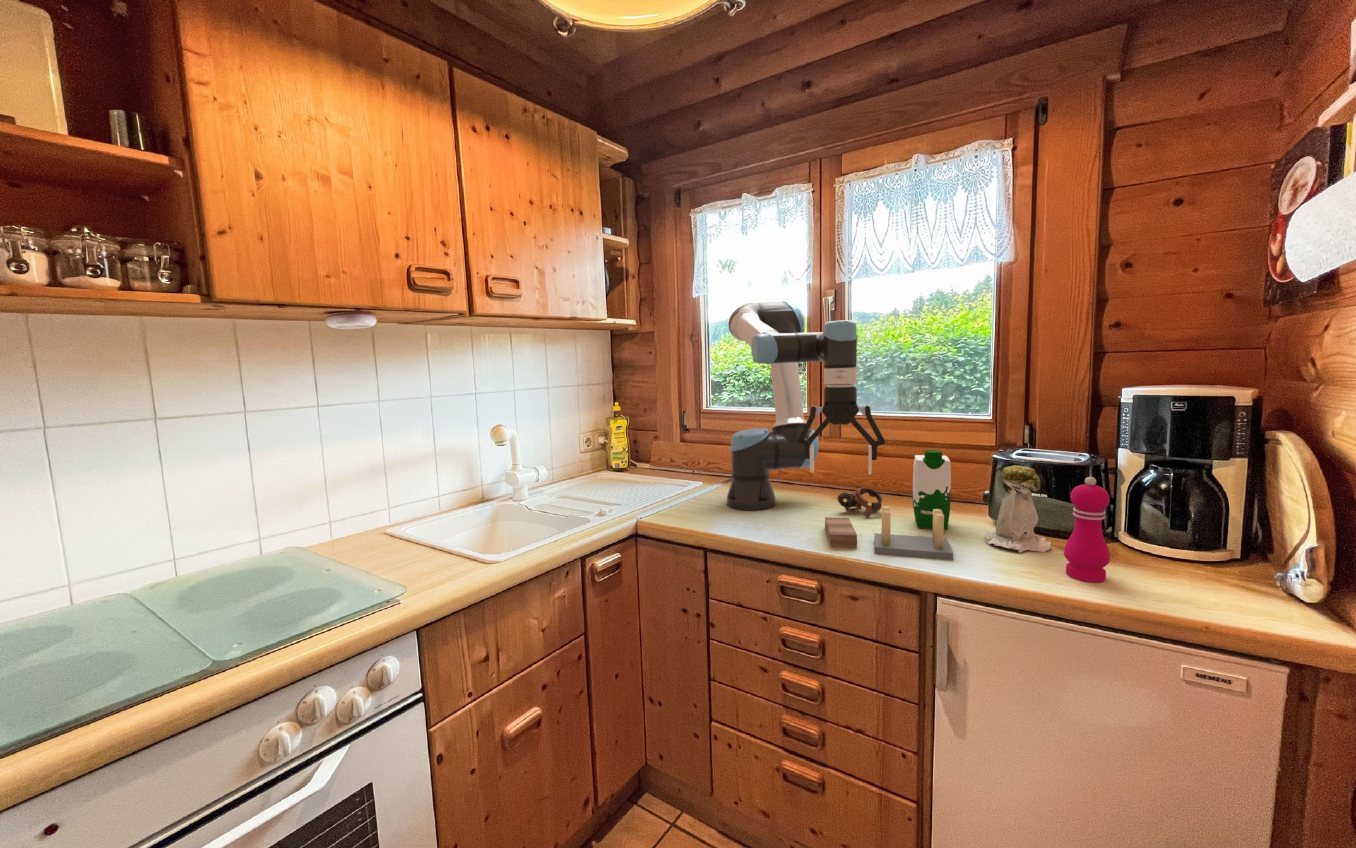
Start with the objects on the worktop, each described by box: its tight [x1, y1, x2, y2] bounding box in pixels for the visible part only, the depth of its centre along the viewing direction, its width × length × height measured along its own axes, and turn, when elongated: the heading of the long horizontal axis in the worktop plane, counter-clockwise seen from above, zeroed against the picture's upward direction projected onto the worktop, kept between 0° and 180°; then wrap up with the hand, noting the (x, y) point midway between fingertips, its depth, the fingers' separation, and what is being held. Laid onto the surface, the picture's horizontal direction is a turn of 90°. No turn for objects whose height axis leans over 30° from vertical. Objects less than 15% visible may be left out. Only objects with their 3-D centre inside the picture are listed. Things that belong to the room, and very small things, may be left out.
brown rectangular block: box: [824, 516, 858, 549], centre depth 132 cm, size 14×6×4 cm, turn 170°
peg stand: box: [873, 505, 954, 561], centre depth 122 cm, size 16×10×9 cm, turn 70°
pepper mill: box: [1063, 476, 1111, 583], centre depth 103 cm, size 7×7×20 cm
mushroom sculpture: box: [983, 464, 1051, 554], centre depth 122 cm, size 12×13×18 cm
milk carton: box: [912, 449, 952, 531], centre depth 138 cm, size 9×9×20 cm
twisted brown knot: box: [837, 486, 883, 518], centre depth 152 cm, size 12×10×8 cm
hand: (840, 472), depth 130 cm, fingers open, 13 cm apart
